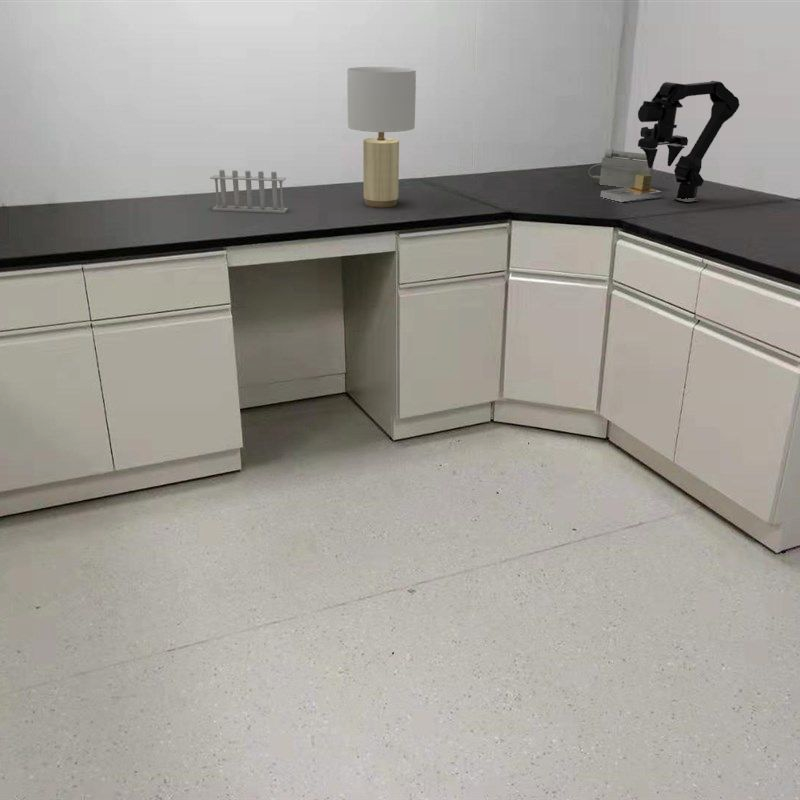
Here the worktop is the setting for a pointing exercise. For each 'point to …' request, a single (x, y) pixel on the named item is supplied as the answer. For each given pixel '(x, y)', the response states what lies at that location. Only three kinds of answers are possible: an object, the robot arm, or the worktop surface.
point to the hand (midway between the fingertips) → (659, 167)
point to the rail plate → (628, 194)
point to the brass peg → (642, 182)
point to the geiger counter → (622, 168)
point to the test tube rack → (249, 192)
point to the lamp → (381, 125)
